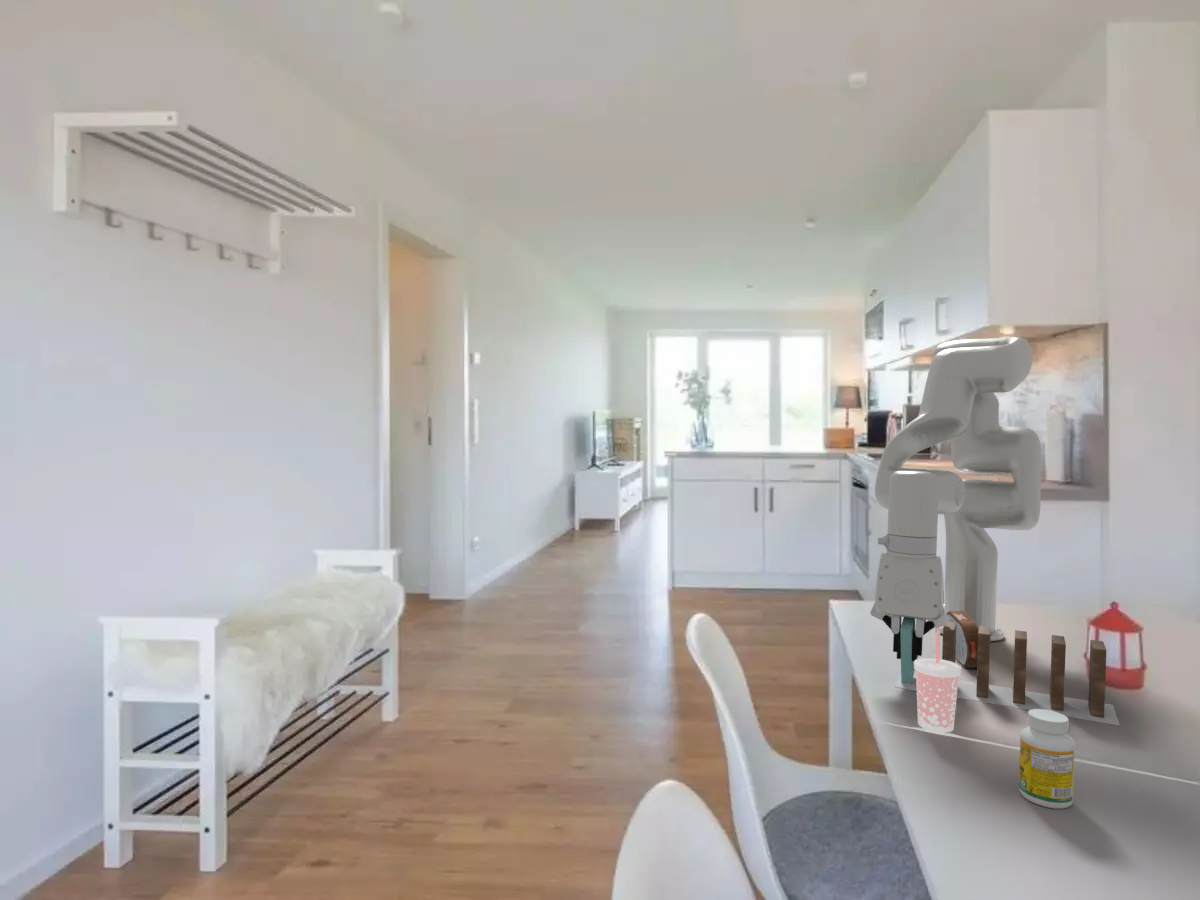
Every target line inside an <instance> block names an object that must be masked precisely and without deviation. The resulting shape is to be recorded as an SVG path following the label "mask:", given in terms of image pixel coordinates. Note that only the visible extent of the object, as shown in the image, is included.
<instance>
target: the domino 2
mask: <svg viewBox="0 0 1200 900" xmlns="http://www.w3.org/2000/svg"><path fill="white" fill-rule="evenodd" d="M941 651H942V652H941V653H942V654H941V659H943V660H947V661H951V662H954V663H956V658H955V656H956V623H954V622H949V623H948V625H946V626H944V627H943V634H942V650H941Z"/></svg>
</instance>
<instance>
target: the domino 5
mask: <svg viewBox="0 0 1200 900" xmlns="http://www.w3.org/2000/svg"><path fill="white" fill-rule="evenodd" d="M1066 648H1067V644H1066V640H1065V636H1063V635H1055V634H1052V635H1051V653H1050V654H1051V656H1050V683H1049V686H1050V687H1049V695H1050V704H1051V709H1053V710H1059V711H1064V697H1065V685H1066V684H1065V680H1066V679H1065V677H1066V676H1065V675H1066V653H1067V652H1066Z"/></svg>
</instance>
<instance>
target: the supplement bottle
mask: <svg viewBox="0 0 1200 900" xmlns="http://www.w3.org/2000/svg"><path fill="white" fill-rule="evenodd" d="M1026 721H1027V724H1028V725H1029V726H1027V727H1025V728H1023V729H1022V731H1021V733H1020V745H1019V748H1020V749H1019V777H1018V780H1019V781H1018V791H1019V793H1020V794H1021V795H1022V797H1023V798H1025V800H1028V801H1029V802H1031V803H1033V804H1035V805H1038V806H1042V807H1045V808H1050V809H1056V810H1058V809H1066V808H1070V806H1072V805H1073V802H1074V780H1075V778H1074V777H1075V753H1076V752H1075V751H1076V750H1075V749H1076V747H1075V746H1076V745H1075V741H1074V739H1073V738H1072V737H1071V736H1070V735H1069V734H1068V731H1069V730H1070V727H1069V725H1070V724H1069V721H1070V719H1069V717H1067V716H1065V715H1063V714H1060V713H1058V712H1054V711H1050V710H1045V709H1032V710H1027V720H1026Z"/></svg>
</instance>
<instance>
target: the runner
mask: <svg viewBox="0 0 1200 900" xmlns="http://www.w3.org/2000/svg"><path fill="white" fill-rule="evenodd" d="M894 688H897V689H903V690H904V689H905V690H910V691H916V692H917V687H916V672H914V676H913V681H912V684H909V683H903V682H901V674H900V675H899V677H898V679H897V681H896V682H895V685H894ZM976 689H977V682H973V681H967V680H961V679H958V688H957V699H962V700H963V699H964V700H969V701H974V702H980V703H986V704H991V705H998V706H1003V707H1009V708H1016V709H1021V710H1027V711H1029V710H1032V709H1045V710H1050V711H1054V712H1058V713H1060V714H1063V715H1065V716H1066V717H1067V718H1075V719H1078V720H1085V721H1091V722H1097V723H1102V724H1107V725H1114V726H1120V721H1119V719H1118V717H1117V713H1116V710H1115V707H1114V704H1110V703H1105V705H1104V718H1101V717H1095V716H1091V714H1090V710H1089V706H1088V700H1084V699H1079V698H1073V697H1066V696H1064V711H1059V710H1053V709H1051V704H1050V693H1043V692H1035V691H1031V690H1030V691H1029V690H1025V705H1024V704H1018V703H1013V688H1010V687H1004V686H998V685H992V684H989V693H988V698H982V697H976Z"/></svg>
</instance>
